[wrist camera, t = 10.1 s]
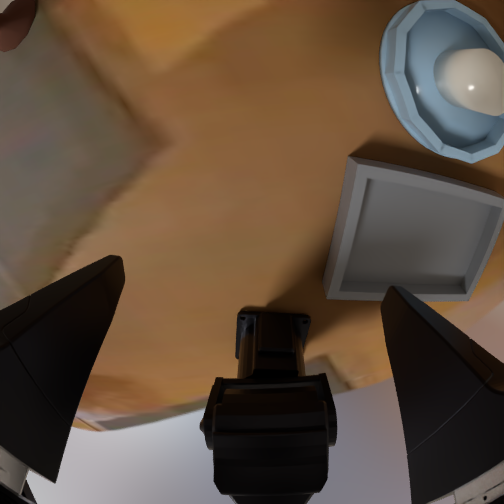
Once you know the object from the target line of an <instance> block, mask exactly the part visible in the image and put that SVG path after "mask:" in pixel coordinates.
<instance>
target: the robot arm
mask: <svg viewBox="0 0 504 504" xmlns="http://www.w3.org/2000/svg"><path fill="white" fill-rule="evenodd" d="M124 284H125V273H124V266H123V260H122V258H121V257H120V256H116V255H108V256H106V257H104V258H102V259H100V260H98V261H96V262H94V263H92V264H90V265H88V266H86V267H84V268H82V269H79V270H77V271H75V272H73V273H71V274H69V275H67V276H65V277H64V278H62V279H60V280H58V281H56V282H54V283H52V284H50V285H48V286H46V287H44V288H42V289H40V290H38V291H37V292H35V293H33V294H31V296H30V295H29V296H27V297H25V298H23V299H22V300H20V301H18V302H16V303H14V304H12V305H10V306H8V307H6V308H4V309H2V310H0V504H37V503H36V500H35V498H34V496H33V494H32V492H31V490H30V487H29V485H28V483H27V480H26V477H27V474H28V471H29V470H30V471H32V472H34V473H36V474H38V475H39V476H41V477H43V478H45V479H47V480H49V481H51V482H53V483H56V480H57V477H58V473H59V469H60V465H61V461H62V457H63V454H64V450H65V447H66V443H67V439H68V437H69V433H70V430H71V426H72V423H73V420H74V417H75V414H76V411H77V408H78V405H79V402H80V400H81V397H82V394H83V391H84V389H85V386H86V383H87V380H88V378H89V375H90V373H91V370H92V367H93V365H94V362H95V360H96V357H97V355H98V353H99V350H100V348H101V345H102V343H103V341H104V338H105V336H106V334H107V331H108V329H109V327H110V324H111V322H112V319H113V317H114V314H115V311H116V307H117V304H118V301H119V298H120V295H121V292H122V290H123V287H124ZM241 316H244V317H241ZM381 316H382V322H383V328H384V335H385V342H386V347H387V352H388V356H389V360H390V364H391V369H392V373H393V378H394V382H395V387H396V392H397V397H398V401H399V407H400V412H401V418H402V424H403V430H404V436H405V443H406V450H407V454H408V455H407V459H408V468H409V477H410V488H411V501H412V504H430V503H432V502H435V501H438V500H440V499H443V498H445V497H448V496H450V495H454V500H455V504H504V363H502V362H501V361H499V360H498V359H497V358H495V357H494V356H493V355H491V354H490V353H489V352H487V351H486V350H485V349H484V348H482V347H481V346H480V345H478V344H477V343H476V342H475V341H473V340H472V339H470V338H469V337H468V336H467V335H466V334H465V333H463V332H462V331H461V330H459V329H458V328H457V327H456V326H454V325H453V324H452V323H450V322H449V321H448V320H447V319H445V318H444V317H443V316H441V315H440V314H439V313H437V312H436V311H435V310H433V309H432V308H431V307H429V306H428V305H427V304H425V303H424V302H422V301H421V300H420V299H418V298H417V297H416V296H414V295H413V294H412V293H410V292H409V291H407V290H406V289H405V288H403V287H402V286H397V285H391V286H389V288H388V290H387V292H386V294H385V296H384V299H383V301H382V303H381ZM303 320H306V321H303ZM310 323H311V319H310V316H309V315H302V314H282V313H265V312H250V311H240V312H239V313H238V315H237V331H236V353H235V357H236V359H238V360H239V363H238V375H237V378H223V377H216V379H215V383H214V385H213V386H212V389H211V392H210V396H209V399H208V402H207V406H206V409H205V413H204V416H203V419H202V420H201V422H200V430H201V431H202V432H203V433H204V435H205V441H206V445H207V447H208V449H209V450H213V463H214V483H215V485H216V487H217V488H218V490H219V492H220V493H221V494H223V495H229V496H230V498H231V499H232V500H233V501H234V503H235V504H307V502H308V501H309V500H310V498H311V497H312V495H313V494H314V493H319V492H320V491H321V490H322V488H323V486H324V485H325V483H326V481H327V478H328V456H329V455H328V454H329V447H330V446H334V445H335V443H336V438H337V416H336V409H335V405H334V401H333V397H332V394H331V390H330V387H329V383H328V380H327V376H326V373H320V374H319V375H309V376H306V375H305V366H304V357H303V347H304V344H305V341H306V337H307V334H308V330H309V327H310Z"/></svg>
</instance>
